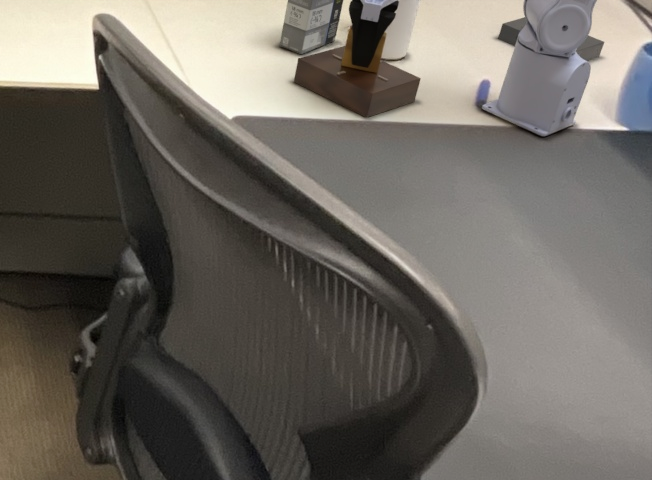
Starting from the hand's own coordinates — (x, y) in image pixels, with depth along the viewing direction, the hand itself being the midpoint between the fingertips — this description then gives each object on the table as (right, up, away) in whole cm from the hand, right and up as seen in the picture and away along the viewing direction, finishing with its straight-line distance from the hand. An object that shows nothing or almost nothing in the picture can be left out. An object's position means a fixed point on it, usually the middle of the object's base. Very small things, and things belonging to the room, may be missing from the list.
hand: (361, 62), depth 138 cm
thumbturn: (0, -1, 0) cm, 1 cm away
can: (+5, +7, +15) cm, 17 cm away
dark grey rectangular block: (+31, +12, +24) cm, 41 cm away
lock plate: (-1, -3, +3) cm, 4 cm away
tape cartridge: (-5, +8, +13) cm, 16 cm away
